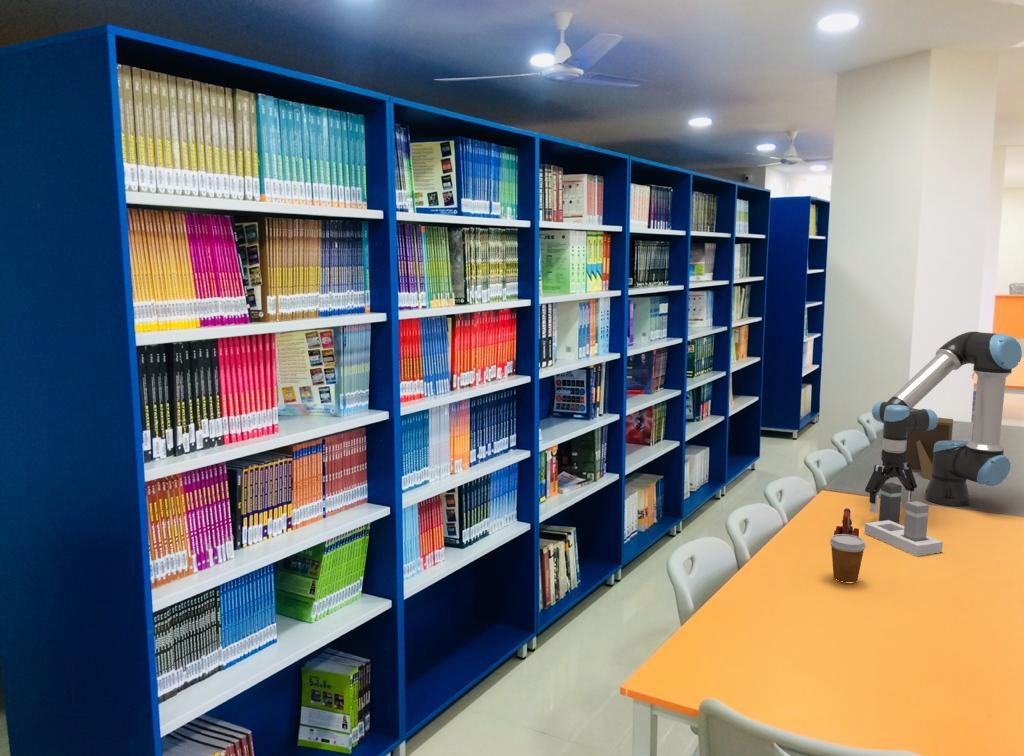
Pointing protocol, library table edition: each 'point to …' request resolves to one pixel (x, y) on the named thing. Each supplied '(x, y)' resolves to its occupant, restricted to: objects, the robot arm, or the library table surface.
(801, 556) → the library table surface
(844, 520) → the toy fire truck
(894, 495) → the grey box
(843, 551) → the disposable coffee cup
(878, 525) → the white slotted plate
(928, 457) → the photo frame
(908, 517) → the grey square plug
